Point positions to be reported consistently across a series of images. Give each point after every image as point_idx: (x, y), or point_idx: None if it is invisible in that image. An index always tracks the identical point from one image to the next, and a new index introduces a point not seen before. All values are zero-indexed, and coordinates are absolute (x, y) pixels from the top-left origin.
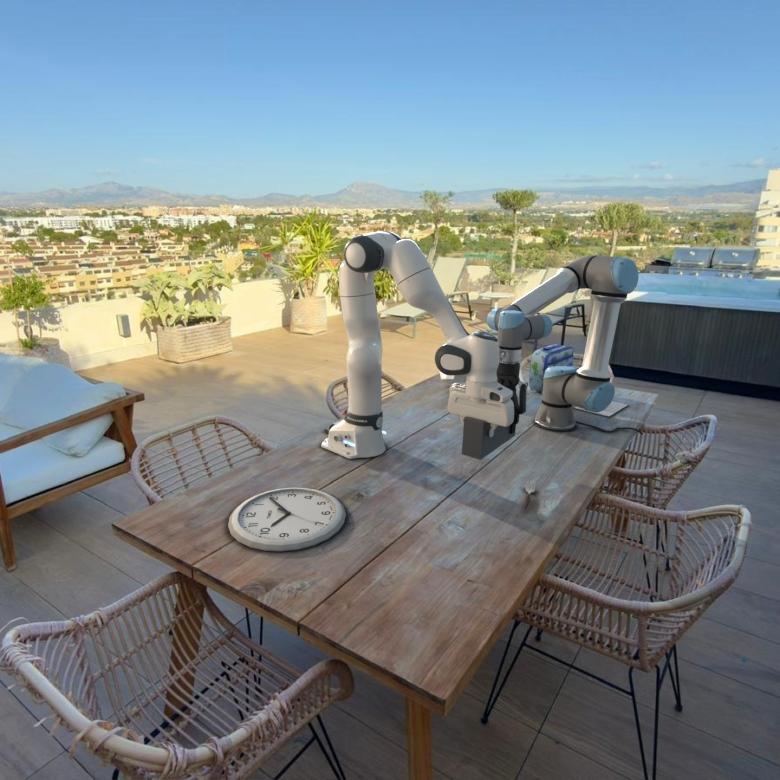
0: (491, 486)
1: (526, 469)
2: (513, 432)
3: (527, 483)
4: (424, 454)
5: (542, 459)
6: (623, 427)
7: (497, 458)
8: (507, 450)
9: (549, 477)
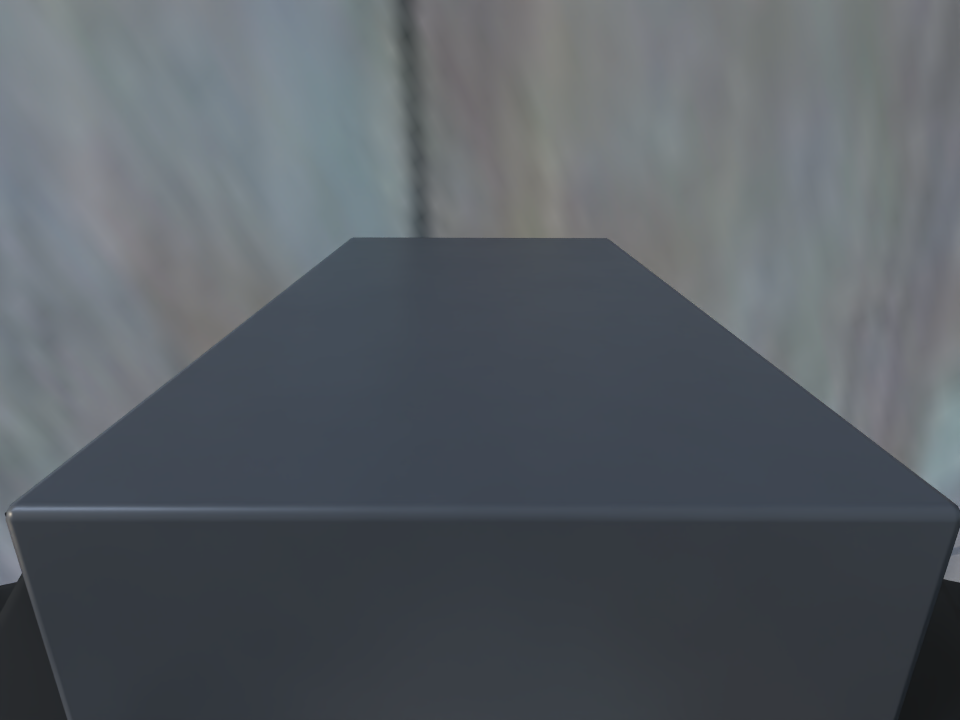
0: None
1: (725, 319)
2: None
3: None
4: (7, 546)
5: (801, 23)
6: None
7: None
8: (443, 40)
9: (915, 339)
